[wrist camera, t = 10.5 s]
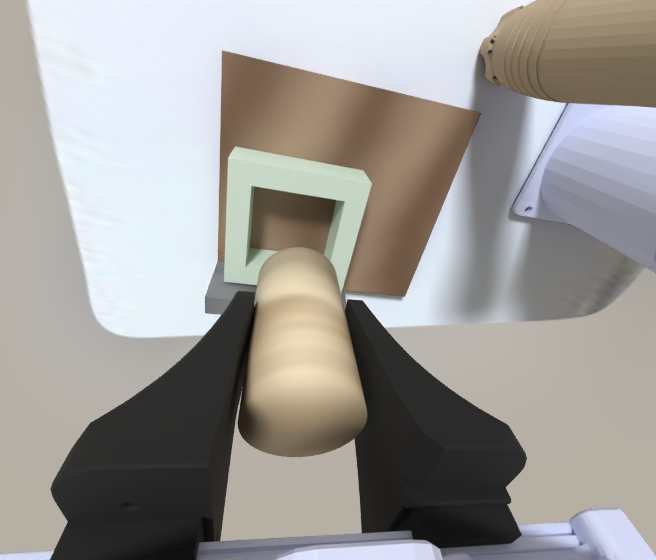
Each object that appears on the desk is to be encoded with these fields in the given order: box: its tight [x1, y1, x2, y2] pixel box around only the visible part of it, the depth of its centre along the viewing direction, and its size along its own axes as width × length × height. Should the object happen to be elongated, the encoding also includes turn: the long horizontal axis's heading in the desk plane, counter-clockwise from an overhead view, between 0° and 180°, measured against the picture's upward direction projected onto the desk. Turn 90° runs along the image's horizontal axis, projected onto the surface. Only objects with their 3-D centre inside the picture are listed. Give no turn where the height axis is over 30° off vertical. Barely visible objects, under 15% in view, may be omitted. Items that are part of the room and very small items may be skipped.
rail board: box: [205, 51, 481, 315], centre depth 19 cm, size 14×13×5 cm
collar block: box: [224, 146, 372, 293], centre depth 19 cm, size 7×7×2 cm
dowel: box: [238, 247, 367, 457], centre depth 12 cm, size 4×4×7 cm
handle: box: [480, 0, 656, 108], centre depth 11 cm, size 5×6×15 cm
